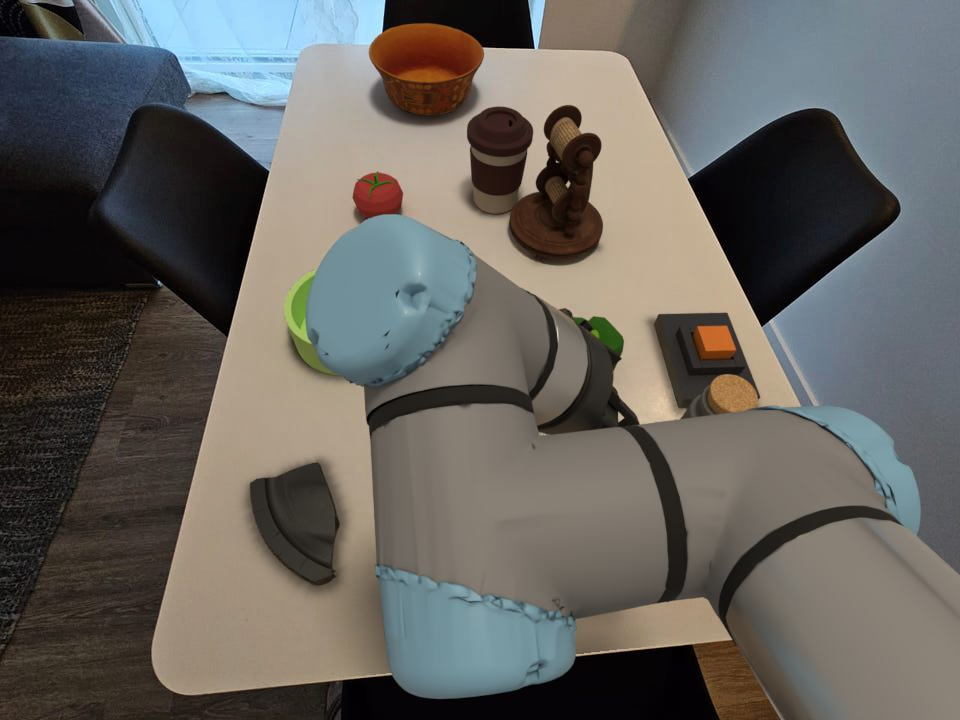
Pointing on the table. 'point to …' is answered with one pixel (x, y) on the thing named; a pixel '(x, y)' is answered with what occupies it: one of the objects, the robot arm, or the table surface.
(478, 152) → the coffee cup
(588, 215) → the wooden spool holder
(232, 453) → the table surface
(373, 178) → the tomato
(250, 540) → the table surface
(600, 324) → the bell pepper
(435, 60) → the bowl
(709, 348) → the orange square block
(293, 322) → the green rounded pieces
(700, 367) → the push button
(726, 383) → the bottle
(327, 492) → the fan shaped piece
